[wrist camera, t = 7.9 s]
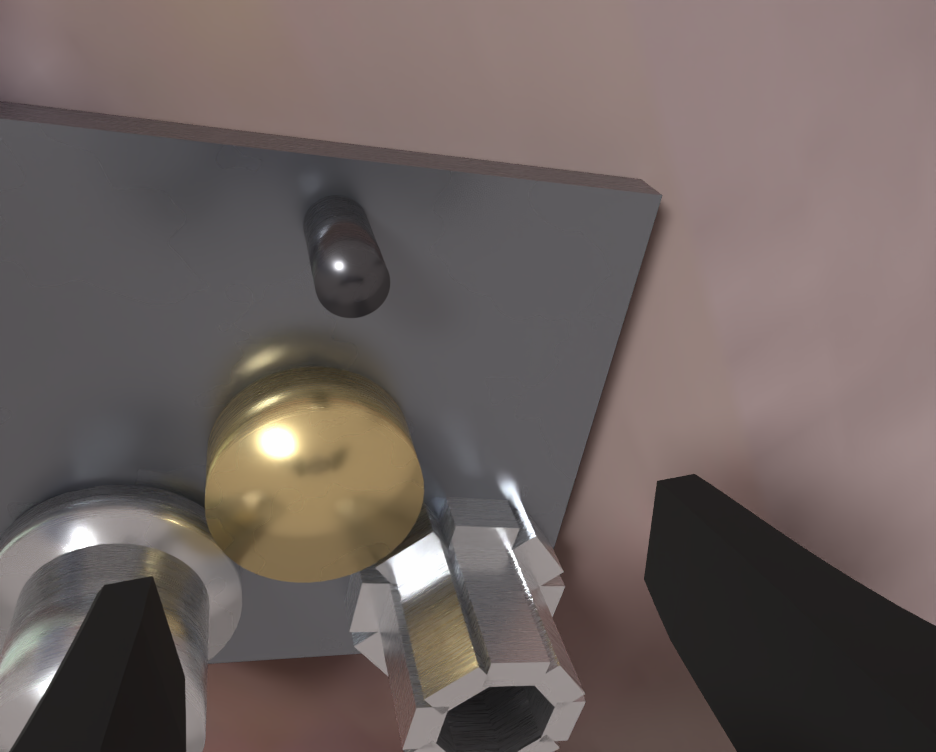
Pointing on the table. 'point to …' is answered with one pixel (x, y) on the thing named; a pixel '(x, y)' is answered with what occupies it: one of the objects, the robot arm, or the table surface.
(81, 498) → the silver rounded piece
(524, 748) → the gear
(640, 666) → the table surface
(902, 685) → the robot arm
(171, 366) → the carrier
